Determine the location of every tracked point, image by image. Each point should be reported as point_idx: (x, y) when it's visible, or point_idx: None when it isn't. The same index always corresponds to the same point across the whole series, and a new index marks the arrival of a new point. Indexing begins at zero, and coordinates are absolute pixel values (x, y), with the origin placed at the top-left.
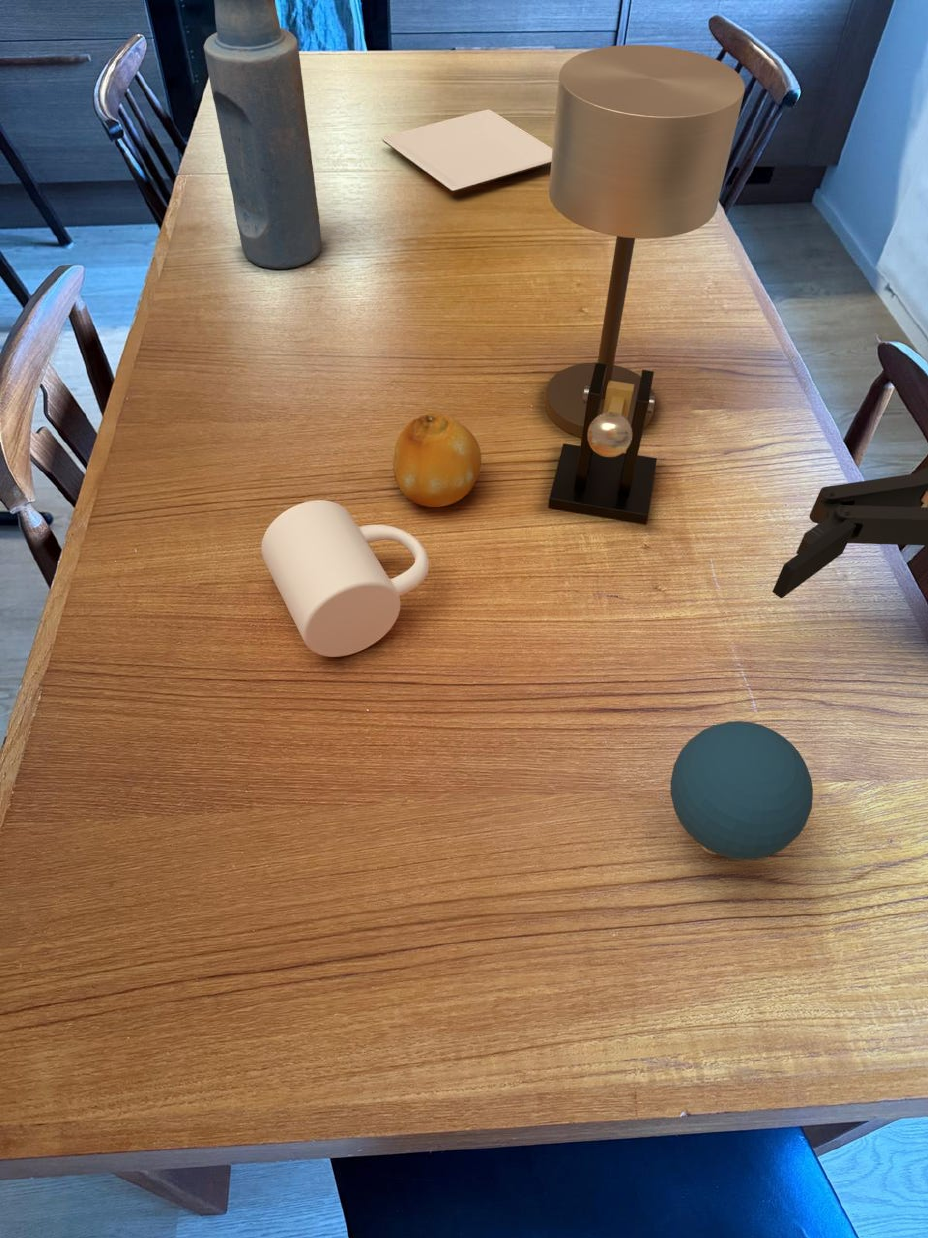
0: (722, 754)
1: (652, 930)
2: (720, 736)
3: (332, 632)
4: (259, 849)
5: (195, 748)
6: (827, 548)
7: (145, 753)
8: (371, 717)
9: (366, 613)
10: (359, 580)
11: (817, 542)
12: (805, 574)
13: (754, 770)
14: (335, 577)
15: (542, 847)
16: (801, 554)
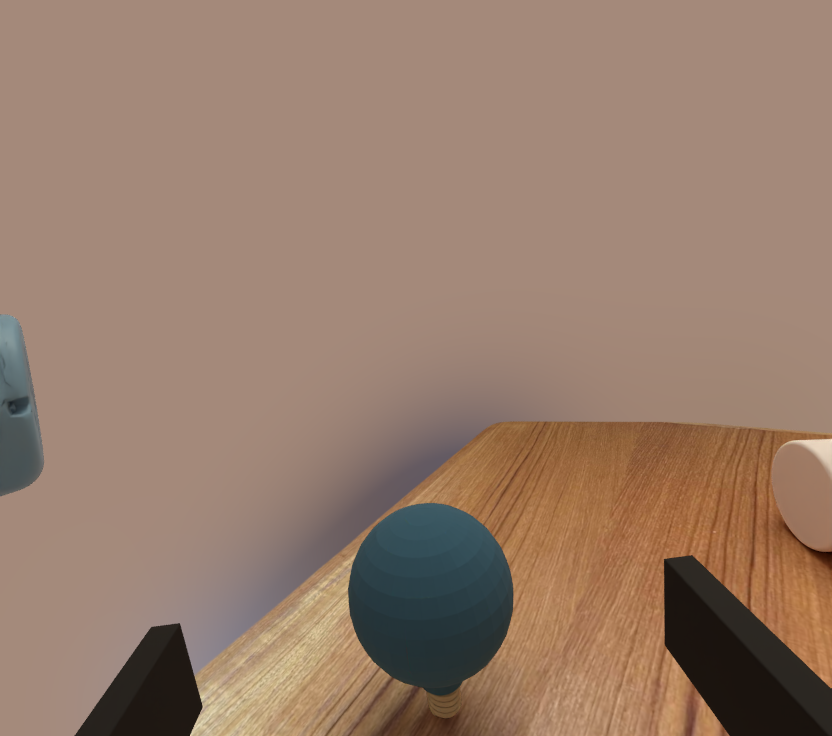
0: (447, 506)
1: None
2: (469, 519)
3: (786, 486)
4: (594, 473)
5: (684, 463)
6: (775, 692)
7: (684, 450)
8: (704, 531)
9: (812, 497)
10: (820, 451)
11: (790, 656)
12: (715, 681)
13: (410, 509)
14: (821, 441)
15: (526, 581)
16: (726, 595)
